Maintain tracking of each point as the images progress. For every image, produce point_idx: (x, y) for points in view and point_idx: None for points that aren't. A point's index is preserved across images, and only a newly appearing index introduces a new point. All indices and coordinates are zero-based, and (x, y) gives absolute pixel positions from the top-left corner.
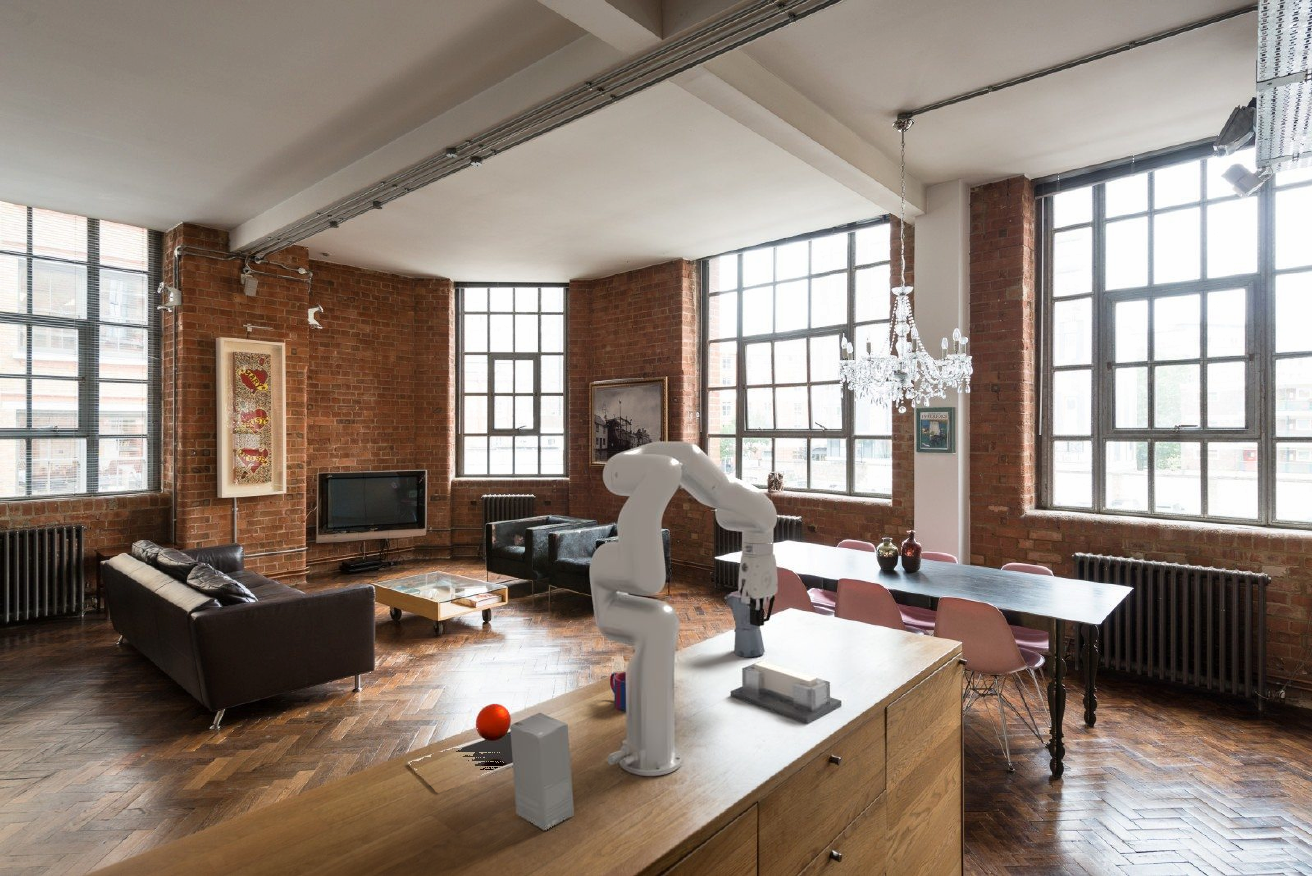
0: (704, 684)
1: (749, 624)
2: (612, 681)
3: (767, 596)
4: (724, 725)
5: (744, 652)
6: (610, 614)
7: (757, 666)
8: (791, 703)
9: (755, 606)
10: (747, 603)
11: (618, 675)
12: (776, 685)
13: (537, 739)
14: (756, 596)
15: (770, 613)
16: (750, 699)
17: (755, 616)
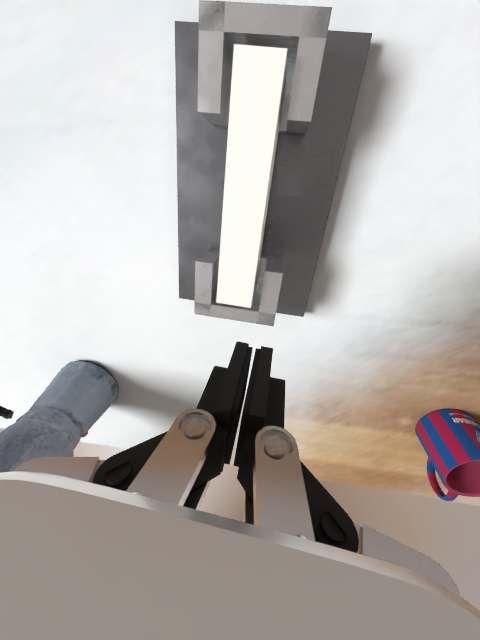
0: (277, 375)
1: (58, 424)
2: (435, 484)
3: (170, 505)
4: (473, 240)
5: (109, 385)
6: None
7: (252, 295)
8: (289, 152)
9: (297, 468)
10: (401, 545)
11: (469, 492)
12: (265, 218)
13: None
14: (469, 636)
15: None
16: (316, 260)
17: (284, 404)
